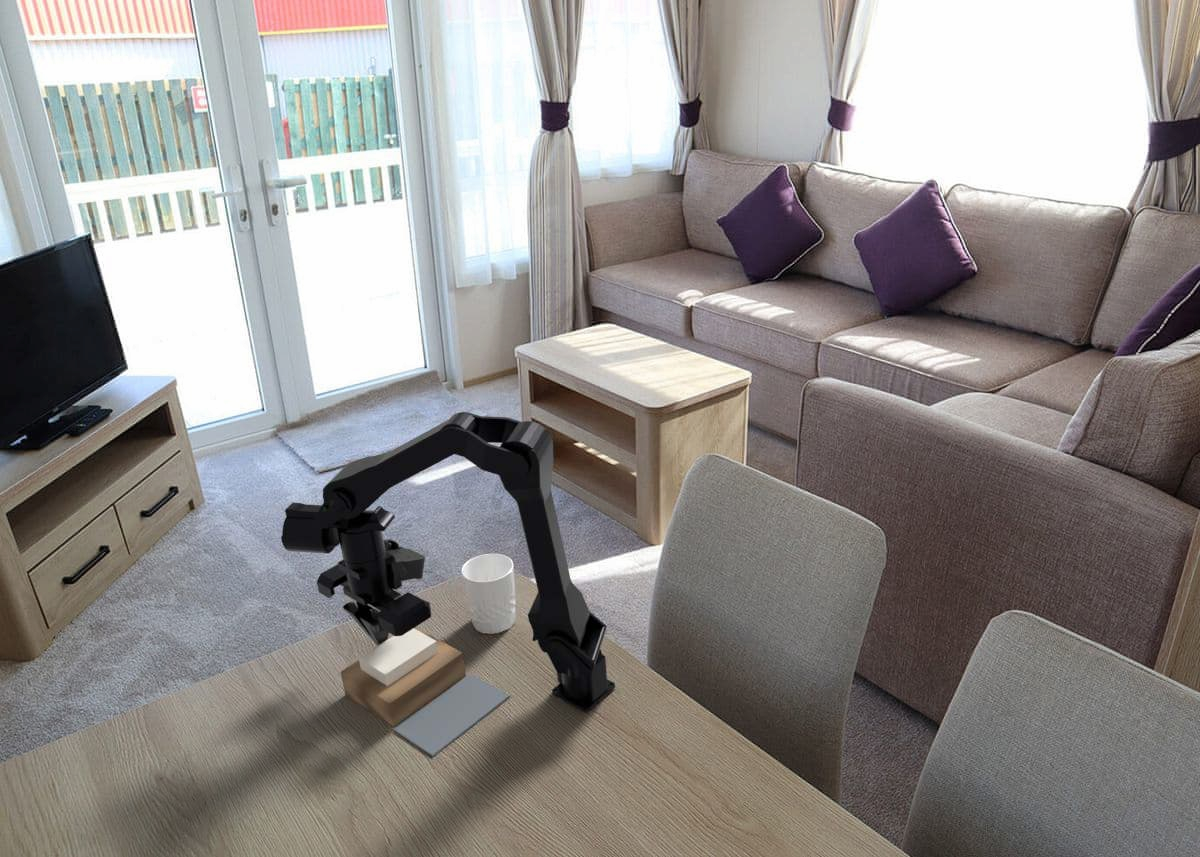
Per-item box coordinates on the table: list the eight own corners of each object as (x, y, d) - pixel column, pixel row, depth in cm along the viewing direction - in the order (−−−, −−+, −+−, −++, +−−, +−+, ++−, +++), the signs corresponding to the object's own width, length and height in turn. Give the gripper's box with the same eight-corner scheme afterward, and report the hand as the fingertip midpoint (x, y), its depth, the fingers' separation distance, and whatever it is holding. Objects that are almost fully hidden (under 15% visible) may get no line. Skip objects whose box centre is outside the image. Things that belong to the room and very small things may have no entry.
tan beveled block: (465, 675, 133) (462, 652, 131) (394, 726, 124) (389, 703, 122) (416, 647, 139) (412, 625, 138) (345, 694, 131) (340, 671, 129)
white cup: (501, 600, 149) (494, 547, 145) (529, 621, 144) (523, 567, 140) (459, 621, 145) (451, 567, 141) (487, 643, 139) (479, 588, 135)
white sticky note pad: (438, 652, 132) (436, 641, 131) (387, 686, 125) (385, 674, 125) (411, 637, 135) (409, 625, 134) (360, 669, 129) (358, 657, 128)
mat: (510, 697, 128) (509, 695, 128) (432, 756, 118) (432, 755, 118) (470, 674, 133) (470, 673, 133) (393, 730, 123) (393, 728, 123)
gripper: (453, 547, 126) (467, 640, 132) (370, 509, 137) (386, 596, 143) (388, 585, 118) (406, 682, 125) (305, 542, 129) (326, 632, 136)
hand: (382, 645), depth 132 cm, fingers closed
